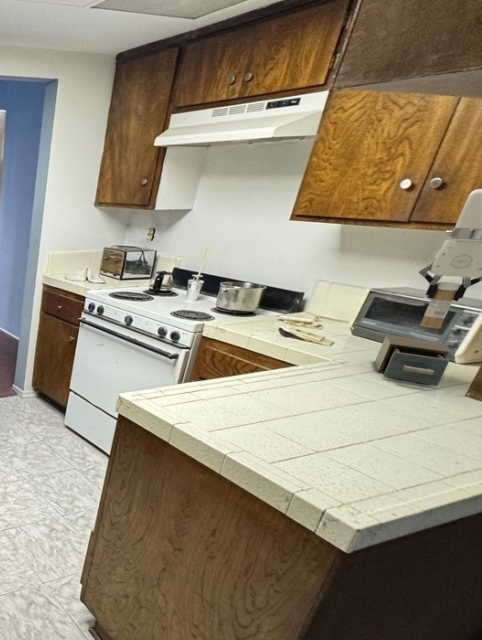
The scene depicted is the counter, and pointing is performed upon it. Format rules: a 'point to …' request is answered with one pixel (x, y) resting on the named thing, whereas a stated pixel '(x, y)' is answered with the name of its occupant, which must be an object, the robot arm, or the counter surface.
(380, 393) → the counter surface
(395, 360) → the drawer
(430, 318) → the sprinkles bottle
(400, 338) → the cabinet
